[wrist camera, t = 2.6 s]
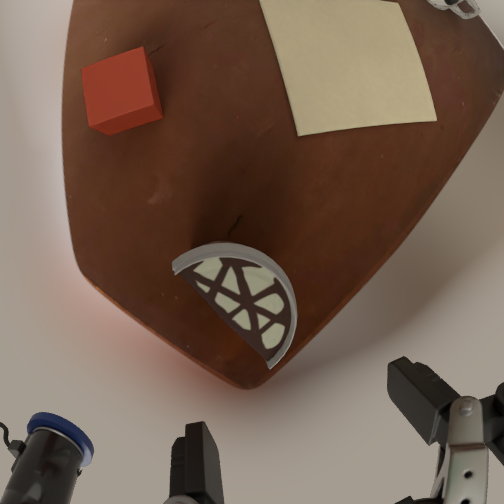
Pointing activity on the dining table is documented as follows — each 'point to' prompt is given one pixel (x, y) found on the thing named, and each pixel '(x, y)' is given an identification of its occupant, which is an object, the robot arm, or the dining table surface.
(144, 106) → the red block
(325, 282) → the dining table surface
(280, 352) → the food container
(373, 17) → the linen cloth
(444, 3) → the mug
